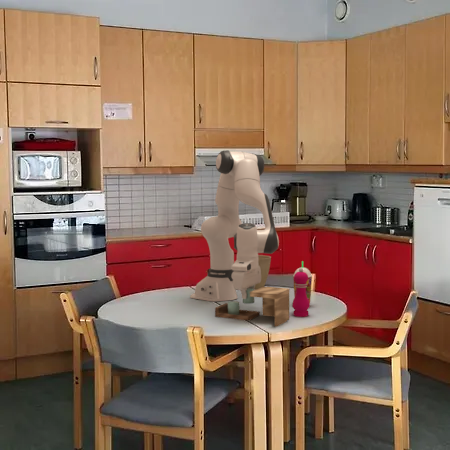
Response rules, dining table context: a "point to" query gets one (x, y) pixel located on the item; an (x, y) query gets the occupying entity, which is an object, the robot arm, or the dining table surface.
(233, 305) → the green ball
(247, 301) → the pale green rounded cylinder
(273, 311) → the counter cubby
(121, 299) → the dining table surface
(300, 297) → the pepper mill
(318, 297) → the dining table surface
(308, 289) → the smoothie
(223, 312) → the tray
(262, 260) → the plant pot
